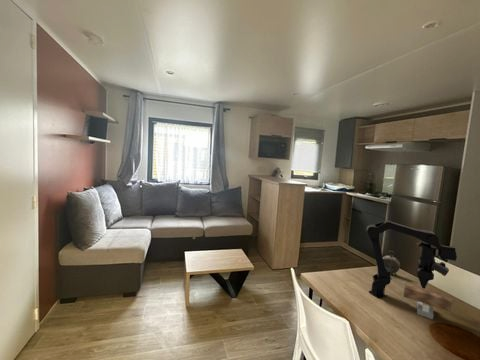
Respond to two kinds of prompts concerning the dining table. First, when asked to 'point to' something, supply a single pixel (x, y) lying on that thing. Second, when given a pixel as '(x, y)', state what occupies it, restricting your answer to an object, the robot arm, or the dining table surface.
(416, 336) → the dining table surface
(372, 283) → the robot arm
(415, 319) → the dining table surface
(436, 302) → the walnut bar
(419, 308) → the ridge stand
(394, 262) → the alarm clock
